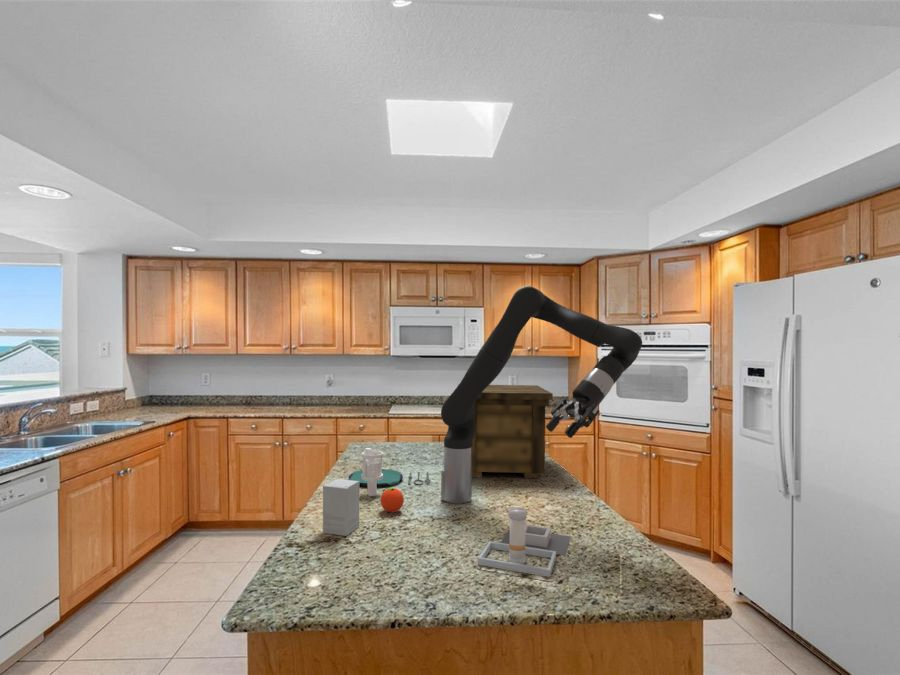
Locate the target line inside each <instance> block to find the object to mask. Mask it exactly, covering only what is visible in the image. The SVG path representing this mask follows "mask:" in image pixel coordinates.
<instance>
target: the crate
mask: <svg viewBox="0 0 900 675" xmlns="http://www.w3.org/2000/svg"><path fill="white" fill-rule="evenodd" d="M459 384H460V383H459ZM459 384H457V386H458V385H459ZM553 395H554V394H553V392H551V391H548V390H547V389H544V388H542V387H541V386H539V385H535V384H534V385H533V384H532V385H531V384H530V385H522V384H520V385H519V384H517V385H516V384H515V385H514V384H510V385H509V384H489V385H488V386H487V387H486V388H485V389H484V390H483V391H482V393H481V394H480V395H479V396H478V398H477V399H476V401H475V402H474V404H473V405H474V408H475V430H474V438H473V441H472V478H482V477H483V473H522V476H523V477H524V478H525V477H526V478H525V479H531V478H530V477H534V478H533V479H537V478H538V474H539V475H545V465H546V463H545V462H546V453H545V452H546V437H545V436H546V407H547V406H548V407H549V405H550V401H553V400H554V398H553V397H554V396H553Z"/></svg>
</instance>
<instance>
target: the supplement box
mask: <svg viewBox="0 0 900 675" xmlns="http://www.w3.org/2000/svg"><path fill="white" fill-rule="evenodd" d="M359 527H360V484H359V481H352V480H349V479H341V478H336V479H334V480H332V481H330V482H328V483H326V484H323V485H322V533H323V534H329V535H335V536H336V535H337V536H341V537H342V536H344V537H347V536H348V535H349V534H351V533H353V532H354V531H356V530H357V529H359Z"/></svg>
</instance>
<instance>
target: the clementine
mask: <svg viewBox="0 0 900 675" xmlns="http://www.w3.org/2000/svg"><path fill="white" fill-rule="evenodd" d="M382 491H383V492H382V494H381V496H380V505H381V508H382V509H383V510H384V511H386V512H387V513H396V512H398V511H400V509H401V508H403V505H404V502H405V499H404V495H403V493H402V491H400V490H399V489H398V488H395V487H387V488H384V489H383V490H382Z"/></svg>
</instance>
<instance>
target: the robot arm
mask: <svg viewBox="0 0 900 675" xmlns="http://www.w3.org/2000/svg"><path fill="white" fill-rule="evenodd" d="M531 319H537V320H541V321H545V322H547V323H550V324H552V325H555V326H557V327H558V328H561V329H562V330H564V331H566V332H567V333H569V334H571V335H573V336H574V337H577V338H579V339H580V340H583V341H584V342H587V343H589V344H590V345H593V346H595V347H603V346H605V345H608V346H611V347H612V349H611V350H610V351H609V353H607V355H605V356H603V357H602V358H600V359H599V360H598V362H597V363H596V364H595V365H594V367H593V368H592V369H591V370H590V371H589V372H588V373H586V374H585V376H584V377H583V379H582V380H581V381H580V382H579V383H578V385H577V386H576V387H575V388H574V389H573V391H572V397H571V399H570V400H567V399H566V398H561V400H560V401H559V402H558V403H557V404H556V405H555V407H554V408H552V410H551V411H550V415H552V417H551V419H550V420H549V421H548V423H547V424H545V429H546V430H548V432H550V433H551V432H552V433H553V431H554V430H555V429H556V428H557V426H558V425H559V424H560V422H562V421H564V420H569V419H571V418H573V419H574V421H572V422H571V424H570V425H569V426H568V427H567V429H565V432H564V433H565V435H566V436H567V438H570V439H572V438H573V437H574V436H575V435H576V434H577V432H578V431H579V430H580V429H583V427H585V428H588V427H589V426H591V424H592V423H593V421H594V420H595V419H596V417H597V416H598V414H600V412H601V411H600V409H599V408H598V407H599V405H600V404H601V403H602V401H603V400H604V399H605V397H607V395H608V394H609V393H610V392H611V389H612V387H613V386H614V385H615V384H616V382H618V380H619V379H620V377H621V376H622V374H623V373H624V372H625V371H627V370H628V368H629V367H630V366H632V364H633V363H634V362H635V361H636V359H637V358H638V356H639V353H640V351H641V349H642V346H643V339H642V338H641V336H640V335H639V334H638V333H637V332H636V331H634V330H632V329H629V328H626V327H622V326H617V325H611V324H606V323H605V322H602V321H600V320H598V319H597V318H594V317H592V316H590V315H587V314H584V313H581V312H579V311H576V310H573V309H570V308H567V307H565V306H563V305H562V304H560V303H557V301H554V300H553V299H551V298H549V296H547V295H545V294H544V293H543V292H542V291H541V289H538V288H536V287H534V286H531V285H524V286H522V287H520V288H518V289H517V290H516V291H515V292H514V293H513V295H512V297H511V299H510V301H509V302H508V305H507V307H506V308H505V311H504V312H503V315H502V317H501V319H500V320H499V322H498V323H497V324H496V326H495V327H494V328H493V330H492V332H491V333H490V334H489V336H488V338H486V340H485V342H484V344H483V345H482V346H481V348H480V349H479V350H478V353H477V354H476V356H475V357H474V359H473V360H472V362H471V364H470V365H469V367H468V369H467V370H466V372H465V374H464V376H463V378H462V379H461V381H460V383H459V385H458V384H457V386H456V387H455V389H454V390H453V392H451V394H450V395H449V397H448V398H447V399H446V400H445V401H444V403H443V404H442V406H441V411H440V416H441V420H442V422H443V423H444V424H445V425H446V426H448V428H447V432H446V435H445V436H444V439H443V469H442V470H441V472H440V473H441V474H440V476H441V479H440V480H441V483H440V486H441V488H440V489H441V491H440V493H441V494H440V500H441V501H445V502H447V503H451V504H465V503H469V502H471V501H472V489H473V487H472V486H473V484H472V483H473V479H472V478H473V477H472V441H473V438H474V430H475V408H474V405H473V404H474V402H475V401H476V399H477V398H478V396H479V395H480V394H481V393H482V391H483V390H484V389H485V388H486V387H487V386H488V385H491V383H492V382H493V381H495V379H496V378H497V377H498V376H499V375H500V374H501V372H502V370H503V369H504V367H505V366H506V364H507V363H508V361H509V359H510V358H511V356H512V354H513V351H514V348H515V345H516V343H517V340H518V337H519V335H520V333H521V331H522V330H523V329H524V327H526V324H527V323H528V322H529V321H530V320H531Z"/></svg>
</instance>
